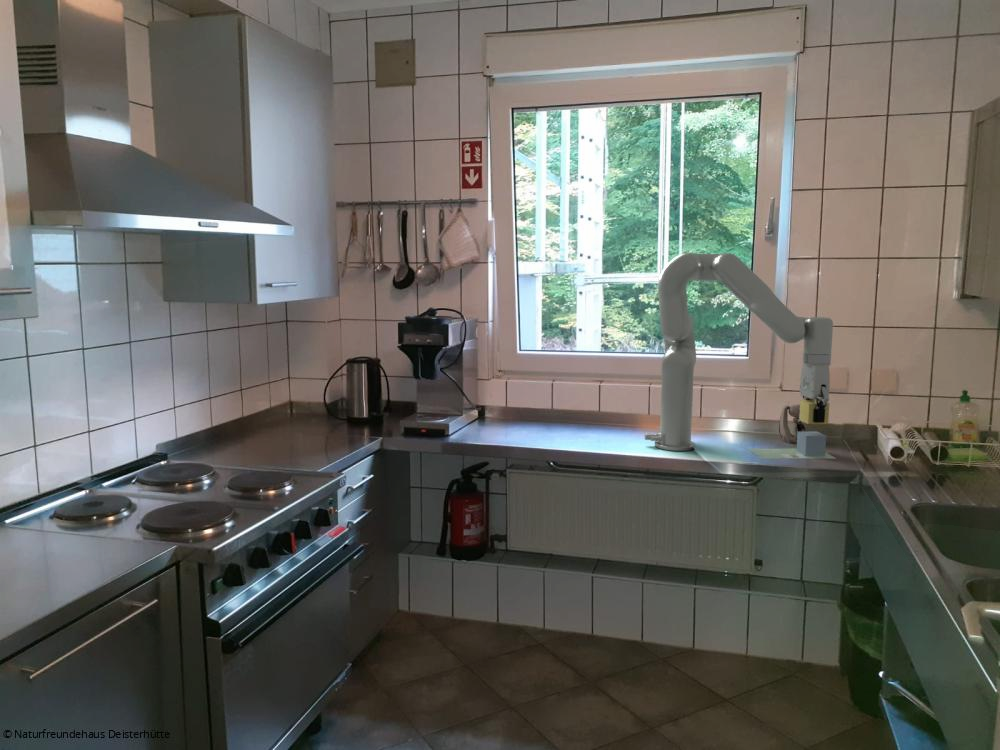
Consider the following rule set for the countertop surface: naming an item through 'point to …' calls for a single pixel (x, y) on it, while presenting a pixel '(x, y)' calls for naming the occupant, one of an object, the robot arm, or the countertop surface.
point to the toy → (783, 423)
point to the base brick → (811, 443)
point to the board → (785, 454)
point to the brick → (811, 412)
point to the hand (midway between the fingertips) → (813, 419)
